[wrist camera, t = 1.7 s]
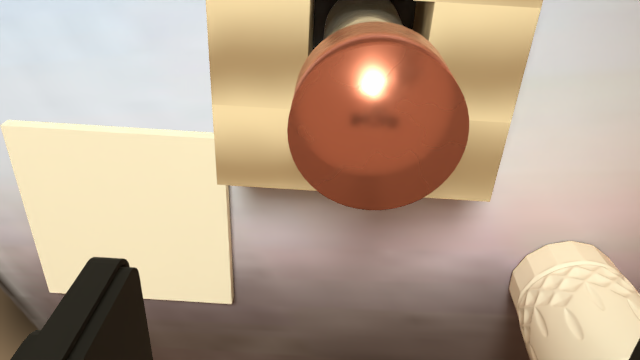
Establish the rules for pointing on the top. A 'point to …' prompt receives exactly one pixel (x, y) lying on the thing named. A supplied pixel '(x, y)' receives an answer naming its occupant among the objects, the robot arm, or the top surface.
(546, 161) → the top surface
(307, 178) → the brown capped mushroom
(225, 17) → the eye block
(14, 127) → the pad
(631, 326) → the white cup
